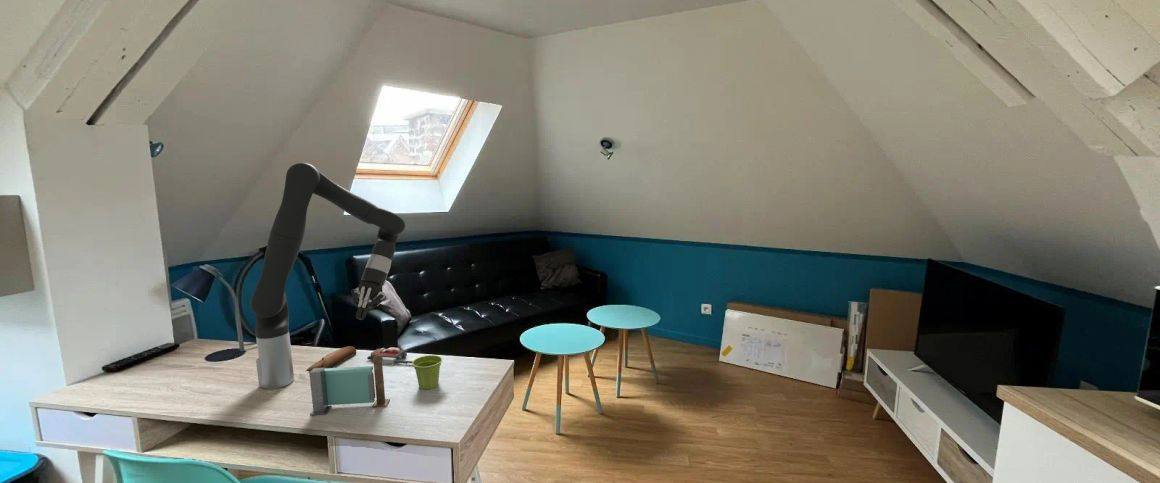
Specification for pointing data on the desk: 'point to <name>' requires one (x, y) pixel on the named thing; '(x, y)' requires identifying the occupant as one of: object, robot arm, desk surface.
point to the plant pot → (427, 371)
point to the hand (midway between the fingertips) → (359, 319)
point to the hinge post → (379, 383)
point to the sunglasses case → (334, 358)
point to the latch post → (319, 392)
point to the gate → (350, 385)
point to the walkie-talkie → (390, 355)
